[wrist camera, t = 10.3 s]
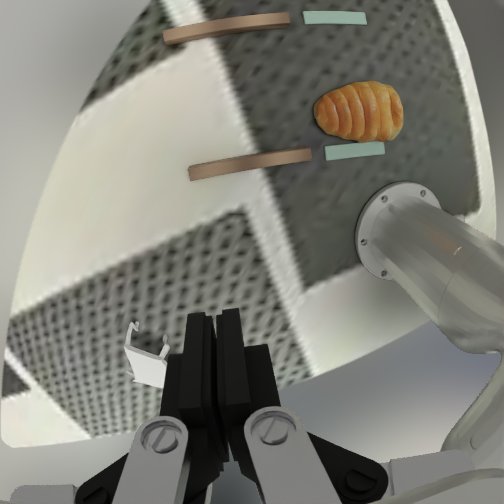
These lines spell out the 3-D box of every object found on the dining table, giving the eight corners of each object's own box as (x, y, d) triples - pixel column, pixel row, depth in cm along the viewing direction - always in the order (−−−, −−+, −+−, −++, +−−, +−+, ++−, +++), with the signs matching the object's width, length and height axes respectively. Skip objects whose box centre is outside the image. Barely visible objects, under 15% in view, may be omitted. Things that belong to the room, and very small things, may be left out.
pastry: (316, 146, 32) (327, 150, 29) (307, 84, 30) (317, 80, 26) (392, 139, 33) (410, 142, 29) (386, 81, 30) (403, 79, 26)
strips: (362, 13, 26) (364, 12, 26) (383, 153, 33) (384, 153, 33) (302, 12, 26) (303, 11, 26) (325, 160, 33) (326, 160, 33)
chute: (284, 17, 26) (288, 12, 24) (306, 157, 33) (312, 159, 31) (165, 35, 26) (162, 30, 24) (192, 177, 32) (190, 181, 30)
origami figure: (110, 350, 40) (102, 375, 36) (135, 310, 38) (126, 335, 34) (184, 387, 44) (182, 412, 40) (215, 353, 42) (215, 379, 37)
